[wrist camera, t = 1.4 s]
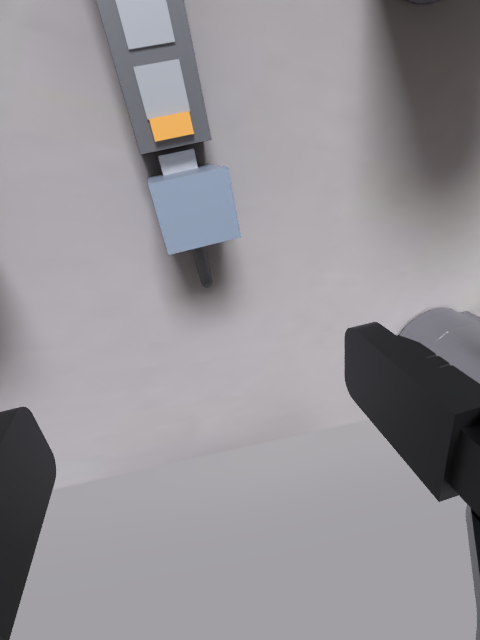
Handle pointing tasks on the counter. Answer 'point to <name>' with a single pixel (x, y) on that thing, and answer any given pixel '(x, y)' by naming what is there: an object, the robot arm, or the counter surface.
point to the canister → (423, 1)
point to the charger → (194, 206)
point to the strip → (156, 71)
